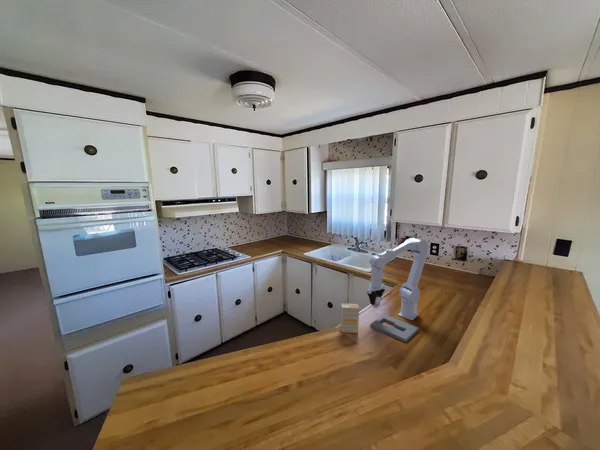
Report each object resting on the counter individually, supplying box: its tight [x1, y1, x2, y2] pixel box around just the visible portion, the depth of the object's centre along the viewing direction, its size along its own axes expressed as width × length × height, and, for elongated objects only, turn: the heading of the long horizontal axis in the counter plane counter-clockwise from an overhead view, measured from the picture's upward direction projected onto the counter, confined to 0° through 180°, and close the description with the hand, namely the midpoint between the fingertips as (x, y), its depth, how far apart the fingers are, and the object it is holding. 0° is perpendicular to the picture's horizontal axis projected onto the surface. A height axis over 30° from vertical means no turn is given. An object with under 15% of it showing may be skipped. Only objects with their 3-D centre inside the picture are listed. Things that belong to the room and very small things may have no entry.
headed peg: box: [370, 295, 382, 309], centre depth 126 cm, size 5×5×6 cm
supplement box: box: [340, 303, 360, 335], centre depth 114 cm, size 8×5×13 cm, turn 84°
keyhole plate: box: [369, 314, 419, 343], centre depth 118 cm, size 15×18×2 cm
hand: (375, 302), depth 126 cm, fingers closed on headed peg, 5 cm apart
